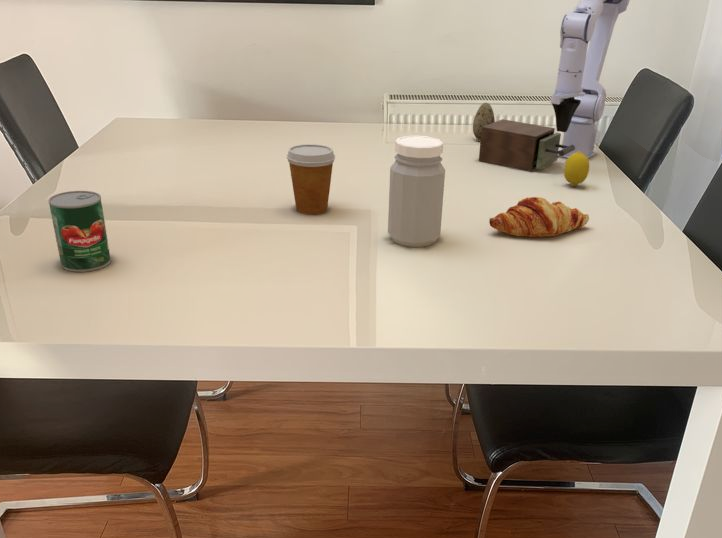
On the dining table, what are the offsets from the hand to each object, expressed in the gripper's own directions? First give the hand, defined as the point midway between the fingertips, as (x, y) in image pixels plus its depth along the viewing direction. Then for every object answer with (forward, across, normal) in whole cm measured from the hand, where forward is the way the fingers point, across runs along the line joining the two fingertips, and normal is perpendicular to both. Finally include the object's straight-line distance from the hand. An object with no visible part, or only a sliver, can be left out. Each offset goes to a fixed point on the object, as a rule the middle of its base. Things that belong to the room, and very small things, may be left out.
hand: (561, 131), depth 180 cm
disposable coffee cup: (+10, -61, +27) cm, 68 cm away
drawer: (+8, 0, +6) cm, 11 cm away
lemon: (+10, -10, -9) cm, 16 cm away
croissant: (+10, -43, -15) cm, 47 cm away
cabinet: (+9, 0, +11) cm, 15 cm away
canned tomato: (+10, -106, +39) cm, 114 cm away
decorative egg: (+10, +14, +27) cm, 32 cm away
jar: (+10, -62, +2) cm, 63 cm away
